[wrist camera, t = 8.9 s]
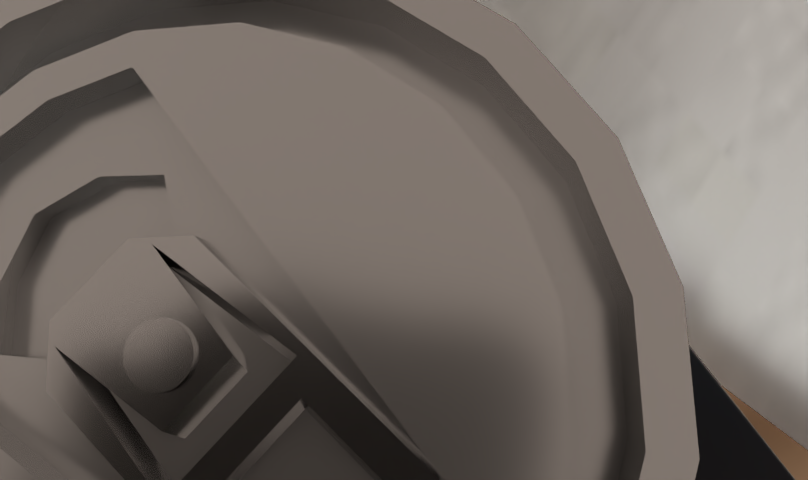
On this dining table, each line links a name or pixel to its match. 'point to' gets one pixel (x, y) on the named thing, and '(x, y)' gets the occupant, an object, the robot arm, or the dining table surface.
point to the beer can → (322, 252)
